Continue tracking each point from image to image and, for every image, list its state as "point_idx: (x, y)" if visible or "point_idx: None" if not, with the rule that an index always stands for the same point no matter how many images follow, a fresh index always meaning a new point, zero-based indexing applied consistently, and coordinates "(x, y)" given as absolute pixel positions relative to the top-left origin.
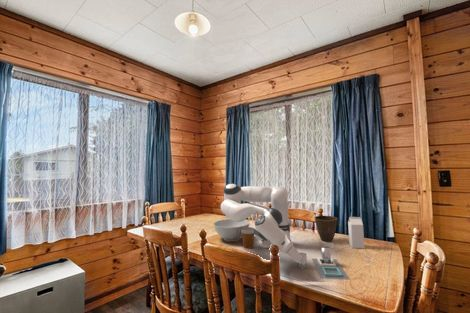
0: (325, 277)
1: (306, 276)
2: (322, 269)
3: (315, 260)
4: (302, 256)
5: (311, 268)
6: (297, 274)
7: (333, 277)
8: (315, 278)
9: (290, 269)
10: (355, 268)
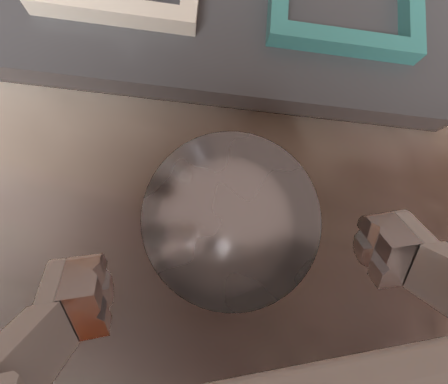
0: (437, 73)
1: (354, 228)
2: (297, 44)
3: (33, 38)
4: (316, 228)
5: (176, 135)
6: (318, 311)
7: (428, 9)
8: (385, 157)
9: (200, 372)
10: None
